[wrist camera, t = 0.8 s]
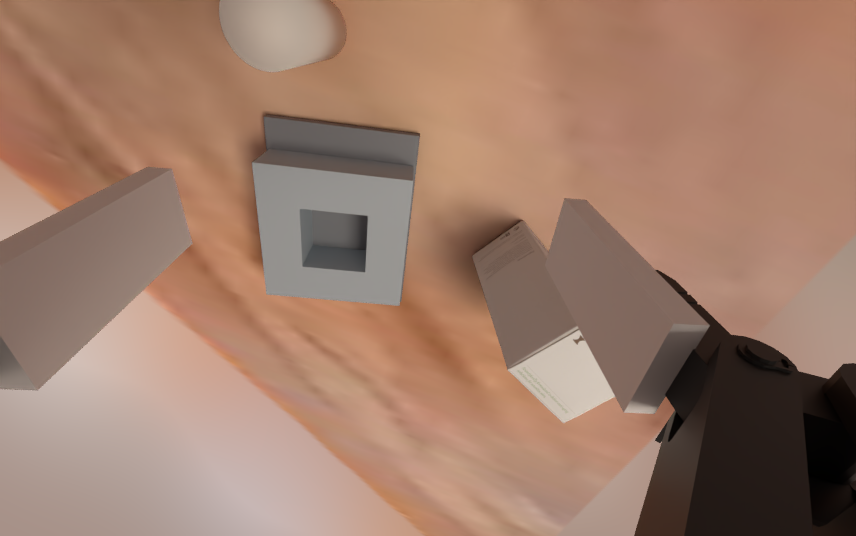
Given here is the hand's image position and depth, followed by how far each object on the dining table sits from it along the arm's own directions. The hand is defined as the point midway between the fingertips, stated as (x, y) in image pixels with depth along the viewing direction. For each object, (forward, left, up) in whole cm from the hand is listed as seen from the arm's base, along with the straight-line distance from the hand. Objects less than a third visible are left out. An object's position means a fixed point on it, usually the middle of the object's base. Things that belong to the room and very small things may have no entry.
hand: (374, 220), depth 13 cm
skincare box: (+13, +14, -21) cm, 28 cm away
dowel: (-5, -6, -21) cm, 23 cm away
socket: (+10, -4, -21) cm, 24 cm away
